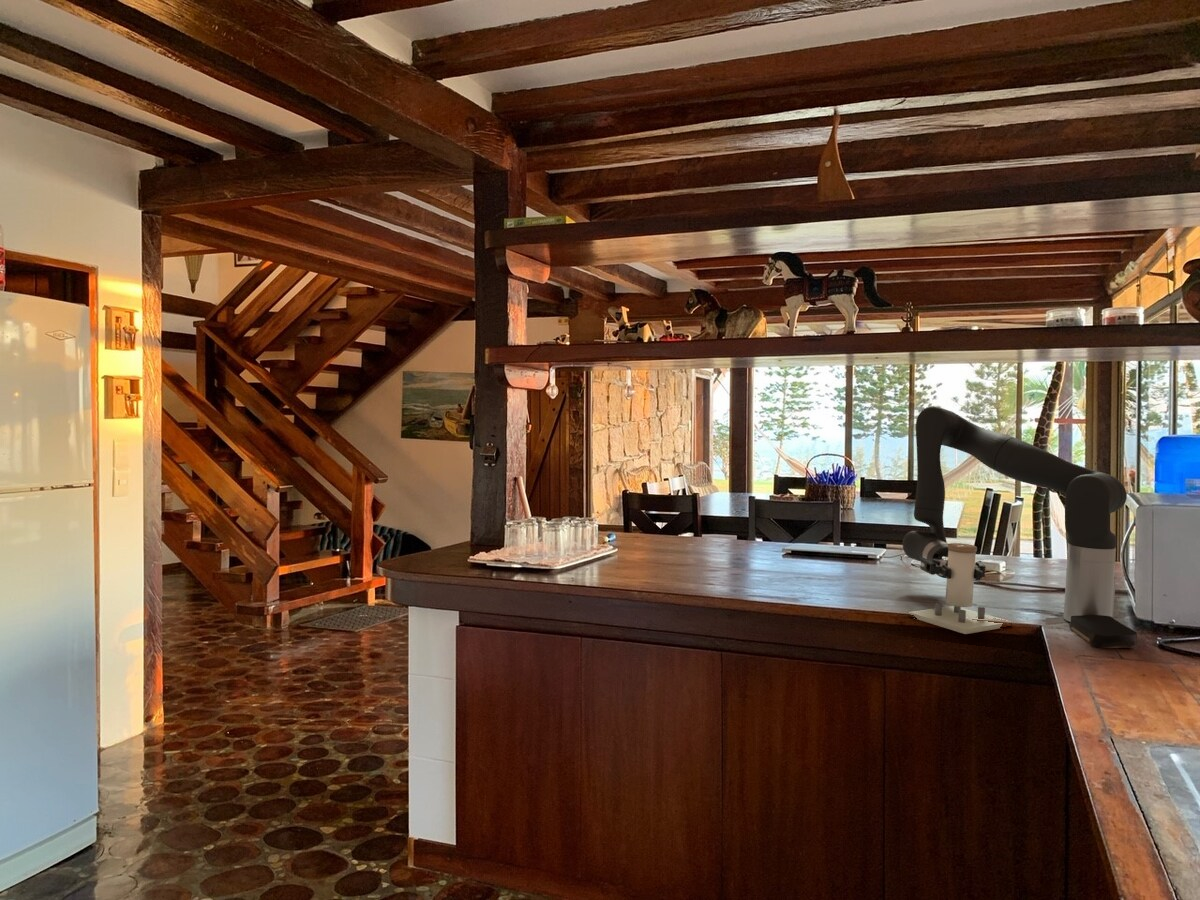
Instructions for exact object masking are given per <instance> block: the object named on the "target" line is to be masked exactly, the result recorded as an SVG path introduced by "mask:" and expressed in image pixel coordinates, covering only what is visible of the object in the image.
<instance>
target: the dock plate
mask: <svg viewBox="0 0 1200 900" xmlns="http://www.w3.org/2000/svg"><path fill="white" fill-rule="evenodd" d="M985 612H986V607H983V606H978V607H977V611H976V610H971V609H968V608H966V607H959V606H953V605H948V606H943V604H942V603H940V602H935V604H934V608H928V609H922V610H916V611H915V610H914V611H909V612H907V613H908V614H911V615H914V616H915V617H916V618H917V619H916V620H919V621H921V622H924V623H927V624H931V625H935V626H937V627H941V628H944V629H947V630H951V631H954V632H957V633H960V634H964V635H968V634H975V633H980V632H985V631H991V630H997V629H1001V628H1000V627H1001V626H1002V624H1003V623H994V622H988V621H977V620H972V619H967V618H966V617H968V618H971V617H976V616H978V619H985V617H986V618H989V619H993V618H996V619H1000V620H1001V619H1002V620H1006V621H1010V620H1007V619H1003V618H1000V617H996V616H993V615H989V614H986V613H985ZM1010 622H1012V620H1011V621H1010Z"/></svg>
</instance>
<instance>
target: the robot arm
mask: <svg viewBox="0 0 1200 900" xmlns="http://www.w3.org/2000/svg"><path fill="white" fill-rule="evenodd" d="M915 440H916V441H915V442H916V443H915V444H916V465H917V471H916V472H917V476H916V477H917V479H916V490H915V500H914V509H913V510H914V511H913V518H914V519H915V520H916V521H918V522H919V523H923V524H926V525H927V526H929V528H930V530H931V532H928V531H920V530H911V531H908V532H907V533H906V534H905V535H904V537H903V540H902V549H903V552H904V554H905V555H906V556H907V557H908V558H910V559H912V560H914V561H917V562H920V565H919V566H920V567H919V570H922V571H924V572H926V573H928V574H929V575H932V576H934V575H937V576H938V577H940V578H943V579H946V580H947V579H951V569H950V568H949V567H948V544H949V543H947V537H946V533H945V527H944V526H945V525H944V511H945V510H944V509H945V501H946V500H945V499H946V487H945V480H944V475H943V471H942V466H941V463H942V462H941V448H942V446H945V447H948V448H951V449H955V450H958V451H961V452H963V453H966V454H968V455H970V456H972V457H974V458H975V459H977V461H979V462H980V463H982V464H983V465H984V466H987V467H988V468H989V469H990V470H993V471H995V472H997V473H999V474H1000V475H1001V474H1002V475H1003V476H1006V477H1008V478H1010V479H1013V480H1015V481H1018V482H1022V483H1024V484H1025V483H1026V484H1028V485H1033V486H1038V487H1042V488H1047V489H1049V490H1053V491H1057V492H1059V493H1061V494H1064V495H1065V500H1064V501H1065V502H1064V503H1065V504H1064V505H1065V506H1064V507H1065V508H1064V528H1065V532H1066V534H1067V537H1068V538H1067V553H1066V554H1067V555H1066V556H1067V557H1066V571H1065V572H1066V573H1065V574H1066V575H1065V585H1064V586H1065V589H1064V603H1063V604H1064V605H1063V619H1064V620H1065V621H1067V622H1071V616H1082V615H1103V616H1110V617H1112V618H1113V619H1114V607H1115V593H1116V591H1115V590H1116V581H1115V570H1116V569H1115V567H1116V554H1117V553H1116V552H1117V536H1116V534H1115V533H1114V532H1112V531H1111V528H1110V514H1112V513H1115V512H1117V511H1119V510H1120V509H1122V508H1123V506H1124V505H1125V504H1126V501H1127V498H1128V494H1127V490H1126V488H1125V486H1124V484H1123V483H1122V481H1120V480H1119V479H1118V478H1117V477H1115V476H1113V475H1111V474H1108V473H1105V472H1101V471H1099V470H1095V469H1092V468H1091V469H1090V468H1087V467H1085V466H1082V465H1078V464H1075V463H1073V462H1070V461H1067V460H1066V459H1063V458H1061V457H1059V456H1057V455H1055V454H1054V453H1051V452H1049V451H1046V450H1044V449H1042V448H1040V447H1037V446H1035V445H1033V444H1031V443H1029V442H1027V441H1024V440H1021V439H1019V438H1016V437H1014V436H1012V435H1008V434H1005V433H1001V432H998V431H994V430H989V429H986V428H984V427H981V426H979V425H977V424H974V423H972V422H971V421H969V420H968V419H966V418H964V417H963V416H961V415H959V414H957V413H955V412H954V411H951V410H950V409H949V410H948V409H945V408H943V407H940V406H935V405H931V406H927V407H925V408H923V409H922V410H921V411H920V412H919V413H918V415H917V418H916V421H915ZM986 568H987V566H986V565H985V562H984V561H983V560H982V561H981V560H977V561H975V571H974V581H981V580H983V578H985V577H986Z"/></svg>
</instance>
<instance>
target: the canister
mask: <svg viewBox="0 0 1200 900" xmlns="http://www.w3.org/2000/svg"><path fill="white" fill-rule="evenodd" d="M977 551H978V547H977V546H976V545H974V544H970V543H961V542H959V543H958V542H952V543H948V567H949V568H950V569H951V579H947V578H946V585H945V587H946V588H945V599H944V601H945V603H946V604H947V605H948V606H959V607H961V608H969V607H972V606H973V601H974V588H975V587H974V585H975V579H974V571H975V562H976V555H977Z"/></svg>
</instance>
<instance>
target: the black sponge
mask: <svg viewBox="0 0 1200 900" xmlns="http://www.w3.org/2000/svg"><path fill="white" fill-rule="evenodd" d="M1069 630H1071V631H1072V632H1074V633H1076V634H1077V635H1078V636H1080V637H1081V638H1082V639H1083V640H1085V641H1087V642H1088V643H1089V645H1090V646H1092V647H1094V648H1099V649H1100V648H1101V649H1102V648H1103V649H1106V648H1107V649H1113V648H1114V649H1119V648H1120V649H1122V648H1125V649H1128V648H1129V649H1130V648H1135V647H1137V646H1138V635H1137V633H1138V632H1137V631H1136V630H1133V629H1132V628H1130V627H1129V626H1126V625H1125V624H1124V623H1121V622H1120V621H1119V620H1116V619H1115V618H1114V617H1113V618H1112V617H1110V616H1103V615H1082V616H1071V622H1070V623H1069Z"/></svg>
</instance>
